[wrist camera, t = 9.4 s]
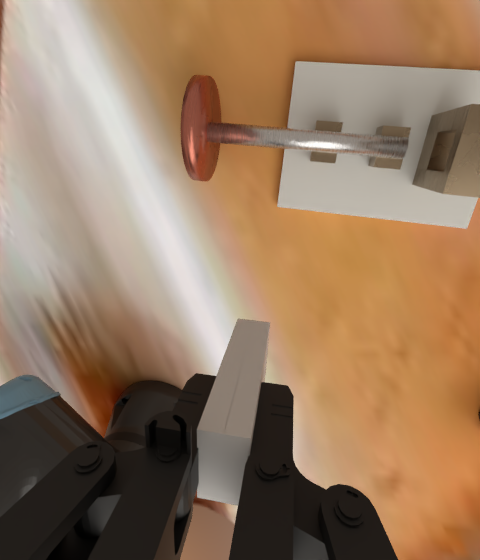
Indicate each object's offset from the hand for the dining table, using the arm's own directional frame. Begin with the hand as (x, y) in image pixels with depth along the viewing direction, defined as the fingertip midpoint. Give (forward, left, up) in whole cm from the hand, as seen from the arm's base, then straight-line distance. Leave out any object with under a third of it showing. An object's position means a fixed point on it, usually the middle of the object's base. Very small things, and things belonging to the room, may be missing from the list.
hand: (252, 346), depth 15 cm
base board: (+9, +10, -26) cm, 29 cm away
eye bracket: (+9, +10, -24) cm, 27 cm away
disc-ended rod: (0, +10, -25) cm, 27 cm away
